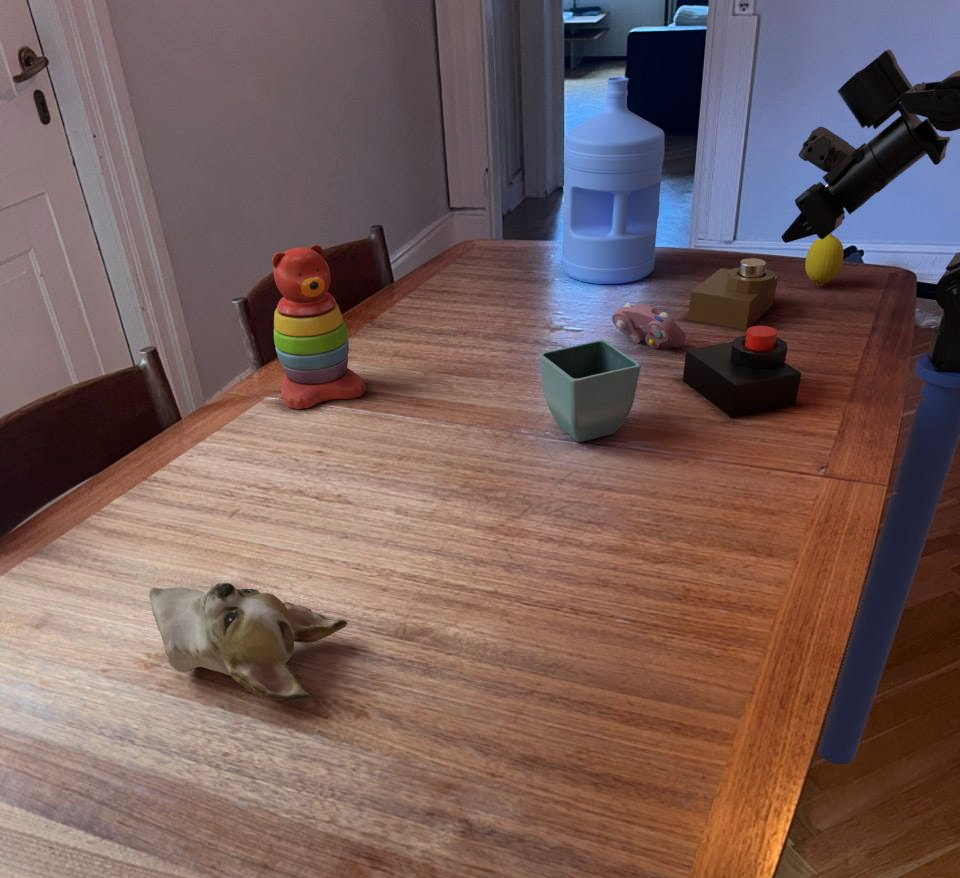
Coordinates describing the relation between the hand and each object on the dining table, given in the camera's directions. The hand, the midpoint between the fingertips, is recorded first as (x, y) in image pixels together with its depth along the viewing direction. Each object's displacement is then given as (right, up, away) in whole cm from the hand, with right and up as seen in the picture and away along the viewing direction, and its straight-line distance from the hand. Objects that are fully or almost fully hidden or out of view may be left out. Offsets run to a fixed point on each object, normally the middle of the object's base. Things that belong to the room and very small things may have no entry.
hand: (783, 239), depth 129 cm
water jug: (-21, +6, +27) cm, 35 cm away
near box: (-10, -25, -12) cm, 30 cm away
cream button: (-3, -3, +5) cm, 7 cm away
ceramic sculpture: (-62, -59, -51) cm, 100 cm away
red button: (-8, -20, -15) cm, 27 cm away
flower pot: (-30, -32, -19) cm, 48 cm away
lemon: (+11, 0, +17) cm, 21 cm away
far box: (-5, -7, +10) cm, 13 cm away
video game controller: (-19, -15, +1) cm, 24 cm away
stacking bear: (-64, -23, -7) cm, 68 cm away
